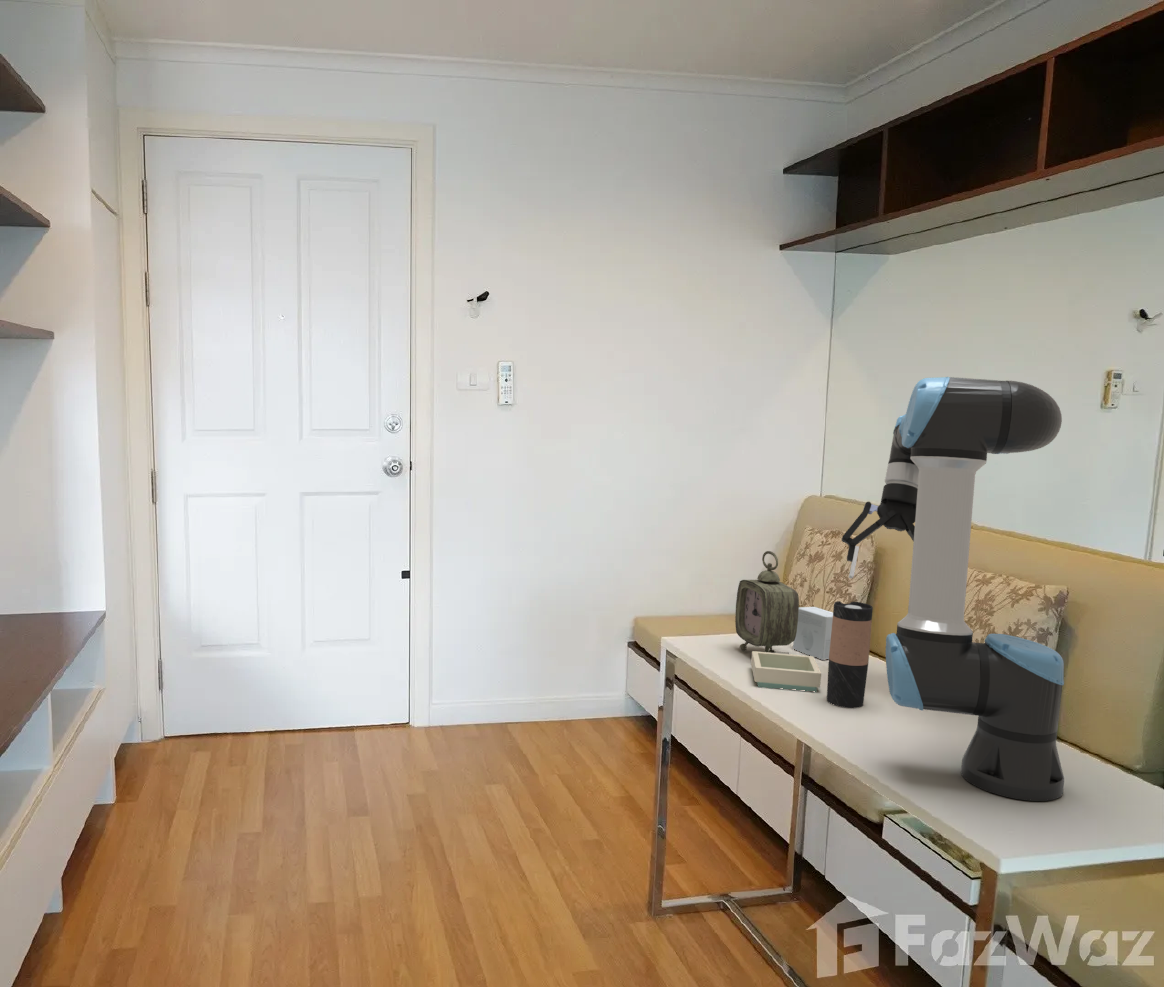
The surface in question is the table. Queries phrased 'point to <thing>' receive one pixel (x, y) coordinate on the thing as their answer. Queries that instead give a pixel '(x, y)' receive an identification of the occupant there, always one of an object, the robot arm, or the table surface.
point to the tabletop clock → (766, 610)
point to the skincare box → (814, 632)
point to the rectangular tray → (785, 671)
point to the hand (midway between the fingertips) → (884, 584)
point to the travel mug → (849, 654)
